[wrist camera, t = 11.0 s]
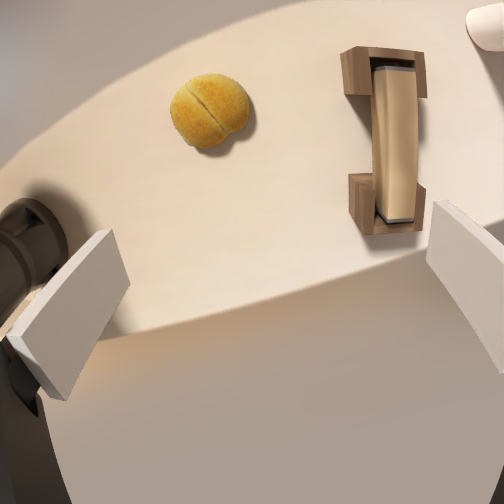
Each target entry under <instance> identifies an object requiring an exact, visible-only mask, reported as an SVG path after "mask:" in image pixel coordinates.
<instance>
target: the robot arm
mask: <svg viewBox="0 0 504 504" xmlns="http://www.w3.org/2000/svg"><path fill="white" fill-rule="evenodd" d="M67 260H68V248H67V242H66V238H65V235H64V233H63V230H62V228H61V226H60V224H59V223H58V221H57V220H56V218H55V217H54V215H53V214H52V213H51V212H50V211H49V210H48V209H47V208H46V207H45V206H44V205H42V204H41V203H39V202H37V201H35V200H32V199H28V198H22V199H18V200H16V201H14V202H13V203H11V204H10V205H8V206H7V207H6V208H5V209H4V210H3V211H2V213H1V214H0V328H1V327H2V325H3V324H4V323H5V321H6V320H7V319H8V318H9V317H10V315H11V314H12V313H13V312H14V310H15V309H16V308H17V307H18V306H19V304H20V303H21V302H22V301H23V300H24V299H25V297H26V296H27V295H28V294H29V293H30V292H32V291H34V290H37V289H39V288H41V287H43V286H45V285H46V286H45V287H44V288H43V289H42V290H41V291H40V293H39V294H38V295H37V296H36V297H35V298H34V300H33V301H32V302H31V303H30V304H29V306H28V307H27V308H26V309H25V310H24V312H23V313H22V314H21V315H20V316H19V318H18V319H17V320H16V321H15V323H14V324H13V325H12V327H11V328H10V329H9V330H8V332H7V333H6V334H5V337H4V338H3V339H2V341H1V342H0V504H72V503H71V500H70V497H69V495H68V492H67V489H66V487H65V484H64V481H63V478H62V475H61V472H60V469H59V466H58V463H57V459H56V456H55V453H54V449H53V445H52V442H51V438H50V434H49V430H48V426H47V422H46V417H45V412H44V408H43V403H42V399H41V397H40V396H39V394H38V393H37V391H38V389H39V388H40V386H41V387H42V388H43V390H44V391H45V392H46V393H47V395H48V396H49V397H50V398H54V399H58V400H62V401H67V399H68V397H69V395H70V393H71V390H72V389H73V387H74V385H75V382H76V381H77V379H78V377H79V375H80V373H81V371H82V369H83V367H84V365H85V363H86V361H87V359H88V358H89V356H90V354H91V352H92V350H93V348H94V347H95V345H96V343H97V341H98V339H99V337H100V336H101V334H102V332H103V330H104V328H105V327H106V325H107V323H108V321H109V320H110V318H111V316H112V314H113V313H114V311H115V309H116V308H117V306H118V304H119V302H120V301H121V299H122V297H123V296H124V294H125V292H126V291H127V289H128V287H129V286H130V281H129V278H128V276H127V273H126V270H125V267H124V264H123V261H122V258H121V255H120V252H119V249H118V246H117V243H116V240H115V237H114V234H113V230H112V229H107V230H100V231H97V232H96V233H95V234H94V235H93V236H92V237H91V238H90V239H89V240H88V241H87V242H86V243H85V244H84V245H83V246H82V247H81V248H80V249H79V250H78V251H77V252H76V253H75V254H74V255H73V256H72V257H71V258H70V259H69V260H68V261H67ZM426 262H427V263H428V264H429V266H430V267H431V268H432V270H433V271H434V272H435V274H436V275H437V276H438V278H439V279H440V280H441V282H442V283H443V285H444V286H445V287H446V289H447V290H448V291H449V293H450V294H451V296H452V297H453V299H454V300H455V301H456V303H457V305H458V306H459V307H460V309H461V310H462V312H463V313H464V315H465V316H466V318H467V320H468V321H469V323H470V324H471V326H472V327H473V329H474V331H475V332H476V333H477V335H478V337H479V338H480V340H481V342H482V343H483V345H484V347H485V348H486V350H487V352H488V354H489V355H490V357H491V359H492V360H493V362H494V364H495V366H496V367H497V369H498V371H499V373H500V374H502V373H504V246H503V245H502V244H501V243H500V242H499V241H498V240H497V239H495V238H494V237H493V236H492V235H491V234H490V233H488V232H487V231H486V230H485V229H484V228H483V227H482V226H480V225H479V224H478V223H477V222H476V221H474V220H473V219H472V218H471V217H469V216H468V215H467V214H466V213H464V212H463V211H462V210H461V209H459V208H458V207H457V206H455V205H454V204H453V203H452V202H450V201H449V200H441V201H434V202H433V211H432V220H431V228H430V236H429V243H428V249H427V255H426ZM490 504H504V466H503V469H502V472H501V475H500V478H499V481H498V484H497V486H496V489H495V491H494V494H493V496H492V499H491V501H490Z"/></svg>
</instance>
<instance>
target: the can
mask: <svg viewBox="0 0 504 504" xmlns="http://www.w3.org/2000/svg"><path fill="white" fill-rule="evenodd" d="M466 26H467V30H468V33H469V35H470V37H471V38H472V40H473V41H474V42H475V43H476V44H477V45H478V46H479V47H480V48H482V49H483V50H486V51H504V2H503V3H498V4H493V5H488V6H484V7H480V8H476V9H472V10H470V11H469V12H468V14H467V17H466Z"/></svg>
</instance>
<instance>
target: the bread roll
mask: <svg viewBox="0 0 504 504" xmlns="http://www.w3.org/2000/svg"><path fill="white" fill-rule="evenodd" d="M170 113H171V117H172V120H173V123H174V126H175V128H176V129H177V130H178V131H179V133H180V135H181V136H182V137H183V139H184V140H185V142H186V143H187V144H188V145H190V146H196V147H199V148H210V147H213V146H216V145H218V144H220V143H221V142H223V141H224V140H225V139H226V137H227V136H228V135H229V134H231V133H232V132H237V131H239V130H241V129H242V128H243V127H244V126H245V124H246V123H247V120H248V116H249V101H248V96H247V93H246V91H245V90H244V89H243V87H242V86H241V85H240V84H239V83H238V82H236V81H235V80H233V79H231V78H229V77H227V76H224V75H220V74H205V75H201V76H198V77H195V78H193V79H192V80H190V81H189V82H187V83H186V84H185V85H184V86H183V87H182V88H181V89H180V90H179V91H178V92H177V93H176V95H175V97H174V98H173V100H172V102H171V105H170Z"/></svg>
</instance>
